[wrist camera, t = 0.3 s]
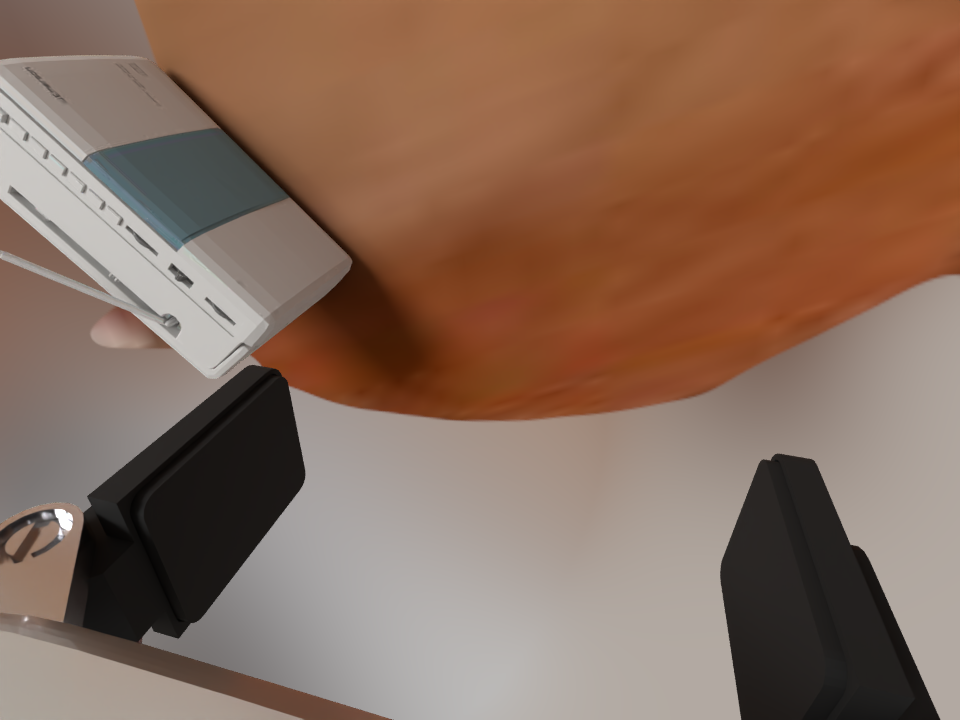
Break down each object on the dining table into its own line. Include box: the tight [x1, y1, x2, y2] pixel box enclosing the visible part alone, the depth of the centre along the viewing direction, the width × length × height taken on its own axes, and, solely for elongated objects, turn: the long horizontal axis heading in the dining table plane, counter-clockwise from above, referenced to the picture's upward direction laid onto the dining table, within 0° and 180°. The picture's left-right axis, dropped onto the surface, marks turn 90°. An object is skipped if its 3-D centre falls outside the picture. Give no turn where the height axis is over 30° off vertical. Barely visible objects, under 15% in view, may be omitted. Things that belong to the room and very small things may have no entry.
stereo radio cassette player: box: [0, 55, 352, 379], centre depth 35 cm, size 21×8×20 cm, turn 46°
